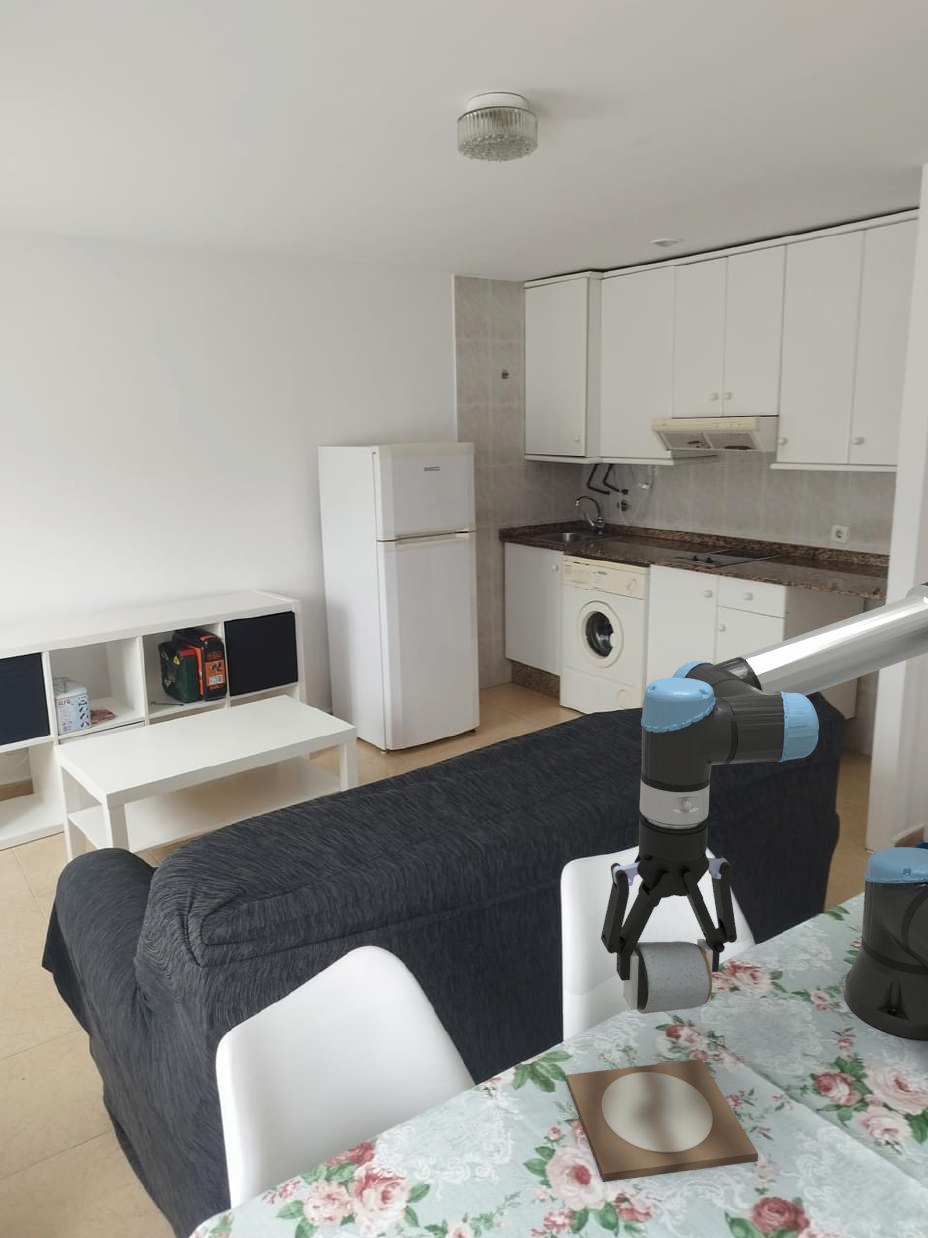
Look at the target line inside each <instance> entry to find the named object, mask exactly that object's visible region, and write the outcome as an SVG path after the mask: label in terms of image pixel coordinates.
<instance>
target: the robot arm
mask: <svg viewBox="0 0 928 1238" xmlns="http://www.w3.org/2000/svg"><path fill="white" fill-rule="evenodd" d="M927 653H928V581H927V582H925V583H921V584H918V585H915V586H913V587H911V588H910V589H909V590H908V591H907V592H906V595H905V597H904V598H902V599H899V600H896V601H892V602H890V603H888V604H885V605H883V606H879V607H876V608H874V609H871V610H869V611H868V610H867V611H865V612H862V613H860V614H856V615H854V616H851V617H848V618H846V619H842V620H840V621H837V622H834V623H831V624H828V625H826V626H823V627H820V628H815V629H813V630H811V631H807V632H805V633H803V634H800V635H796V636H794V637H791V638H789V639H786V640H782V641H780V642H777V643H775V644H774V643H773V644H771V645H768V646H766V647H762V648H760V649H757V650H754V651H751V652H748V653H745V654H743V655H740V656H737V657H734V658H731V659H727V660H725V661H722V662H718V663H715V664H714V663H711V662H707V661H701V660H694V661H689V662H686V663H684V664H682V665H681V666H680V667H679V668H678V669H677V670H676V671H675V672H674V673H673V675H672V677H664V678H660V679H656V680H654V681H652V682H651V683H648V685H647V687H646V688H645V691H644V696H643V697H644V698H643V703H642V714H641V715H642V716H641V719H640V725H641V770H640V771H641V772H640V792H639V794H640V795H639V811H640V813H641V814H640V816H639V819H638V821H639V823H638V854H637V856H636V858H635V860H634V862H632V863H628V864H625V865H621V864H620V863H619V862H614V863H612V864H611V866H610V871H611V872H610V873H611V879H612V884H611V888H610V893H609V896H608V897H609V899H608V903H607V907H606V912H605V917H604V920H603V921H604V922H603V927H602V932H601V937H600V940H601V941H602V944H603V945H604V948H605V949H606V951H607V953H608V954H616V966H615V967H616V968H615V969H616V972H617V975H618V976H619V978H620V980H621V981H622V982H623V995H622V997H623V998H624V1000H625V1001H626V1004H627V1005H628V1007H629V1010H630V1011H633V1010H637V994H638V963H639V957H638V956H637V954H636V952H635V951H634V949H635V947H636V945H637V943H638V942H640V938H641V937H642V934H643V932H644V930H645V928H646V926H647V924H648V921H649V920H650V918H651V916H652V913H653V911H654V910H655V908H656V907H658V906H659V905H660V902H661V900H662V899H666V898H667V899H668V898H671V897H673V896H676V897H686V898H687V900H688V903H689V905H690V907H691V910H692V912H693V913H694V917H695V918H696V921H697V923H698V925H699V927H700V929H701V930H700V931H701V932H702V934H703V937H704V938H697V939H696V940H697V942H696V944H697V945H698V946H699V947H700V948H701V949H702V950H703V951H704V953H705V955H706V956H707V959H708V961H709V965H710V968H711V974H712V975H713V973H717V972H718V971H719V969H720V956H721V955H720V954H721V953H723V952H725V949H726V946H725V944H726V943H729V944H733V943H735V942H736V941H737V940H738V934H737V927H736V920H735V912H734V911H735V910H734V907H733V906H734V905H733V898H732V897H733V896H732V890H731V883H730V882H731V878H732V875H733V869H734V868H733V866H732V864H730V862H728V860H727V859H726V858H725V857H724V856H723V855H720V854H717V855H715V857H712V858H711V857H707V849H708V831H709V830H708V828H709V823H708V821H707V818H708V816H709V808H710V807H709V804H710V803H709V802H710V784H711V783H710V782H711V772H712V766H717V765H719V766H720V765H721V766H723V765H734V764H735V765H736V764H751V763H766V762H767V763H768V762H769V763H770V762H778V763H782V762H784V761H790V760H797V759H802V758H803V759H805V758H806V757H808V756H809V755H811V754H812V752H813V751H814V750H815V749H816V746H817V744H818V741H819V729H820V724H819V722H820V721H819V718H818V714H817V712H816V709H815V707H814V705H813V703H812V702H811V701H810V699H809V698H808V697H807V696H809V695H812V694H814V693H817V692H820V691H823V690H825V689H828V688H831V687H834V686H837V685H840V684H842V683H846V682H849V681H851V680H854V679H856V678H860V677H862V676H865V675H868V674H871V673H873V672H876V671H881V670H882V669H885V668H888V667H891V666H894V665H896V664H899V663H901V662H905V661H908V660H910V659H913V658H917V657H920V656H922V655H925V654H927ZM866 864H867V866H866V870H865V875H864V877H863V880H864V893H863V894H864V896H863V898H864V899H863V910H862V911H863V912H862V927H861V928H862V930H861V944H860V948H859V951H858V952H857V954H856V957H855V959H854V961H853V963H852V966H851V968H850V970H849V972H848V973H847V975H846V978H845V982H844V983H845V984H844V999H845V1002H846V1004H847V1005H848V1007H849V1008H850V1010H852V1012H853V1013H854V1014H855V1015H856V1016H857V1017H859V1018H860V1019H861V1020H862V1021H864V1022H866V1023H867V1024H869V1025H871V1026H873V1027H875V1028H877V1029H878V1030H881V1031H883V1032H886V1033H888V1034H891V1035H894V1036H899V1037H903V1038H907V1039H913V1040H925V1041H926V1040H927V1041H928V849H926V848H919V847H908V846H903V847H902V846H898V847H896V846H895V847H889V848H882V849H880V850H877V851H875V852H874V853H872V854H871V856H870V857H869V858H868V859H867V863H866ZM707 872H708V874H709V875H710V876H711V885H712V893H713V898H714V906H715V912H716V913H715V914H716V919H717V920H716V921H717V927H716V925H715V923H714V922H713V919H712V916H711V913H710V912H709V910H708V907H707V905H706V903H705V901H704V896H703V893H702V892H701V889H700V887H699V885H698V883H700V881H701V879H702V878H703V877H704V876H705V874H706V873H707ZM637 875H639V876H640V878H641V881H640V884H639V886H638V890H637V895H636V898H635V900H634V901H633V904H632V906H631V908H630V910H629V912H628V914H627V917H626V918H625V915H626V911H627V905H628V903H629V902H628V901H629V896H630V887H632V886H633V885H634V879H635V877H636V876H637ZM624 920H625V921H624ZM711 997H712V996H710V998H709V1000H708V1002H707V1003H711V1000H712V998H711Z"/></svg>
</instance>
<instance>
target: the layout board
mask: <svg viewBox="0 0 928 1238" xmlns="http://www.w3.org/2000/svg"><path fill="white" fill-rule="evenodd" d="M565 1076H566V1077H565V1078H566V1085H567V1087H568V1089H569V1093H570V1095H571V1098H572V1100H573V1104H574V1106H575V1109H576V1111H577V1114H578V1117H579V1120H580V1122H581V1125H582V1128H583V1131H584V1134H585V1136H586V1139H587V1142H588V1144H589V1147H590V1149H591V1152H592V1155H593V1158H594V1160H595V1163H596V1166H597V1169H598V1171H599V1175H600V1177H601V1180H602V1182H610V1181H611V1182H612V1181H619V1180H626V1179H632V1178H640V1177H647V1176H648V1177H649V1176H655V1175H662V1174H663V1175H664V1174H670V1173H677V1172H685V1171H692V1170H700V1169H706V1168H713V1167H715V1168H716V1167H721V1166H727V1165H728V1166H729V1165H737V1164H743V1163H745V1164H746V1163H750V1162H751V1163H752V1162H758V1161H759V1159H758V1157H759V1152H758V1151H757V1149H756V1148H755V1146H754V1144H753V1143H752V1141H751V1139H750V1138H749V1136H748V1134H747V1133H746V1130H745V1129H744V1128H743V1125H742V1124H741V1123H740V1121H739V1119H738V1117H737V1116H736V1114H735V1112H734V1111H733V1109H732V1108H731V1106H730V1103H728V1101H727V1099H726V1097H725V1096H724V1094H723V1092H722V1091H721V1089H720V1088H719V1086H718V1084H717V1082H716V1081H715V1079H714V1078H713V1076H712V1074H711V1072H710V1070H708V1067H707V1066H706V1064H705V1063H704V1061H703V1059H702V1058H697V1059H689V1060H679V1061H671V1062H663V1063H662V1062H661V1063H654V1064H644V1065H637V1066H630V1067H629V1066H627V1067H622V1068H621V1067H619V1068H613V1069H605V1070H603V1069H602V1070H597V1071H588V1072H579V1073H570V1074H566V1075H565Z"/></svg>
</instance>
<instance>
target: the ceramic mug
mask: <svg viewBox="0 0 928 1238" xmlns="http://www.w3.org/2000/svg"><path fill="white" fill-rule="evenodd" d="M634 951H635V952H636V954H637V956H638V957H639V963H638V994H637V1009H636V1010H637V1012H638V1013H640V1014H642V1015H646V1014H653V1013H664V1012H671V1011H679V1010H688V1009H689V1010H690V1009H696V1008H699V1007H702V1006H703V1005H706V1004H707V1003H709V1002H708V1000H709V998H710V996H711V995H712V990H713V976H712V975H713V973H712V974H711V968H710V965H709V961H708V959H707V956H706V955H705V953H704V951H703V950H702V949H701V948H700V947H699V946H698V945H697V943H694V942H689V941H680V940H679V941H650V942H649V941H638V943H637V945H636V947H635V949H634ZM711 997H712V996H711Z"/></svg>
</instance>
